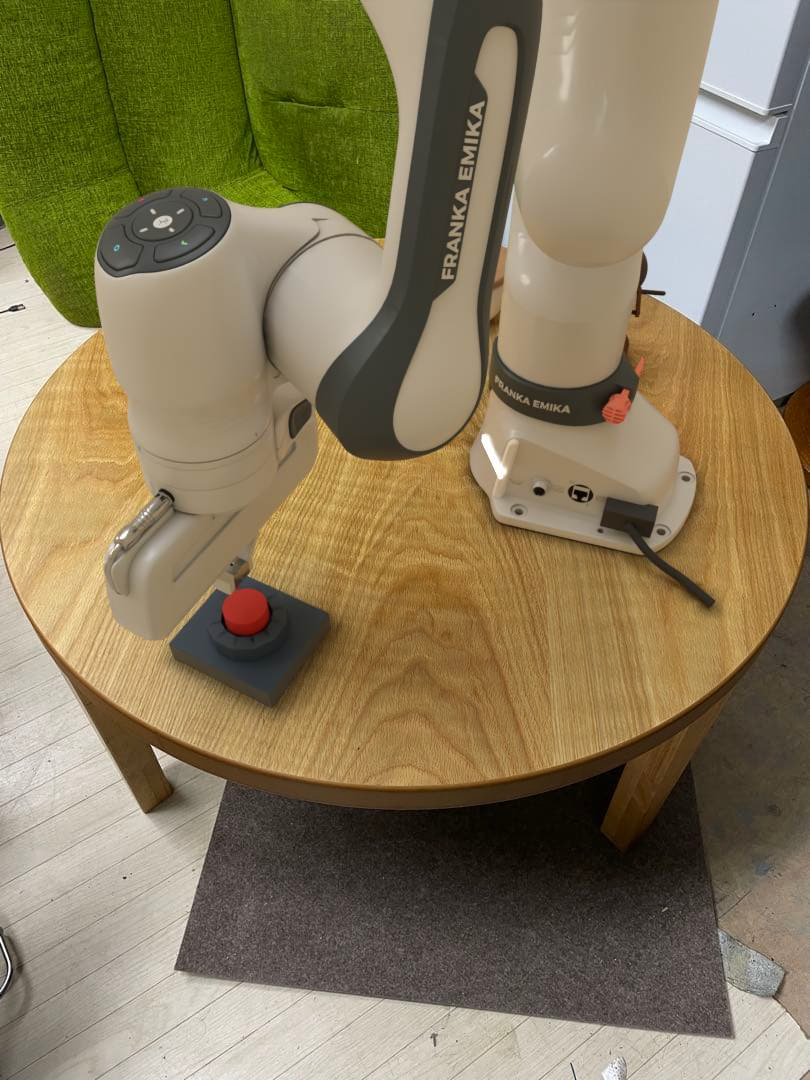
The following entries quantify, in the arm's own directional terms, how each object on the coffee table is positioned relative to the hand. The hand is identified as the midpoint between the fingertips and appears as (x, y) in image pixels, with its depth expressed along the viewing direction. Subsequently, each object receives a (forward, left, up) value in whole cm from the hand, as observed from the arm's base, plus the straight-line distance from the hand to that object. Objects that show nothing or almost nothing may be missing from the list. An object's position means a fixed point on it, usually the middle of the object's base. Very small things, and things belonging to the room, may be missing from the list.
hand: (233, 579), depth 67 cm
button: (0, 0, -6) cm, 6 cm away
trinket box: (+5, -51, -10) cm, 52 cm away
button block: (0, 0, -9) cm, 9 cm away
